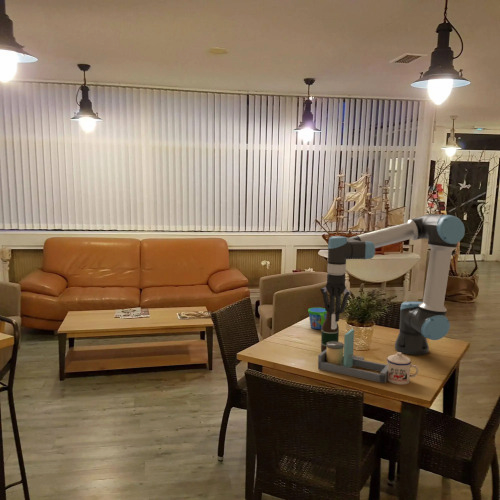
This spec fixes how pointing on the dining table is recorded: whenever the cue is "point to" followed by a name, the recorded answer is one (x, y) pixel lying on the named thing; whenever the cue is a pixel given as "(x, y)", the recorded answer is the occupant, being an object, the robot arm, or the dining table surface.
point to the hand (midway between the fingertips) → (333, 328)
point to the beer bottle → (328, 332)
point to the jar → (334, 353)
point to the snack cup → (317, 317)
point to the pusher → (349, 349)
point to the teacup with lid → (399, 369)
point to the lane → (355, 372)
